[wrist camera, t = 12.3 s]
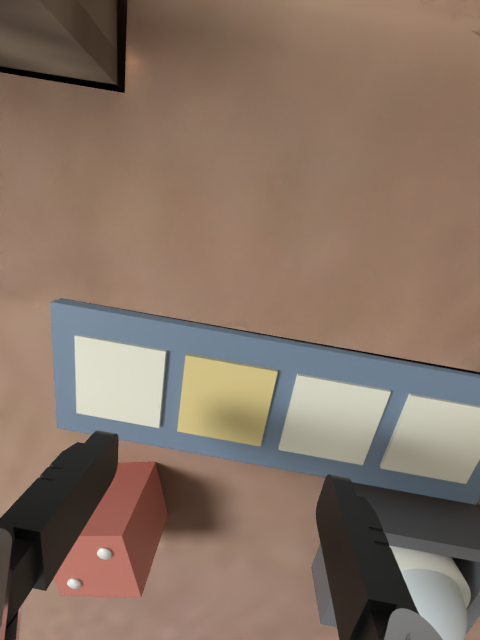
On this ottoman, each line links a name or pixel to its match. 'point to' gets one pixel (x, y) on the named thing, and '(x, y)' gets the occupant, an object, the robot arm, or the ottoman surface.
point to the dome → (436, 590)
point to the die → (118, 537)
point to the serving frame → (65, 41)
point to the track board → (267, 400)
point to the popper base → (418, 538)
